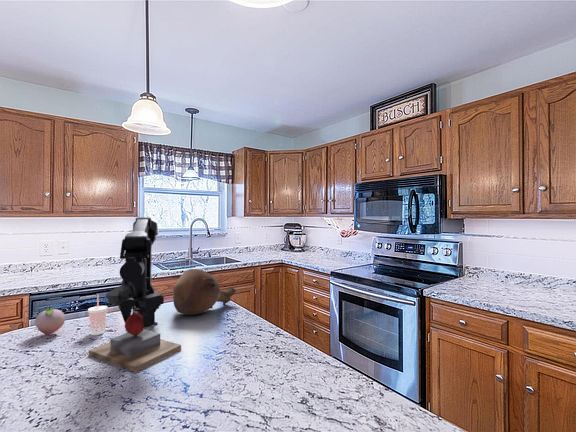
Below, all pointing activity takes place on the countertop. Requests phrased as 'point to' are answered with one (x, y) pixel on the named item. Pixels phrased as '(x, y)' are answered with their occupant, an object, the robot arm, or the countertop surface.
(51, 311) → the decorative fruit
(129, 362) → the stacking base
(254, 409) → the countertop surface
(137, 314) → the onion
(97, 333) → the beverage cup
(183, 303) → the jug
